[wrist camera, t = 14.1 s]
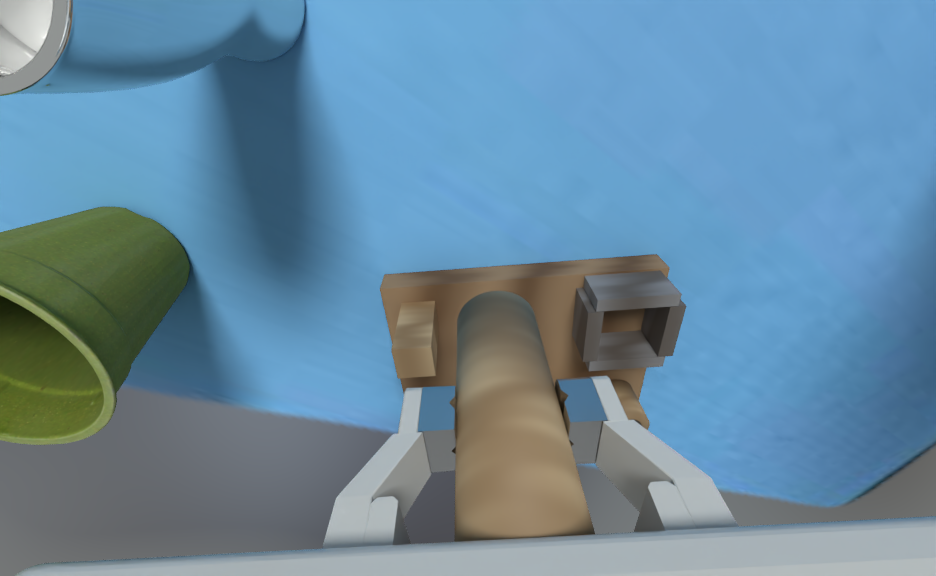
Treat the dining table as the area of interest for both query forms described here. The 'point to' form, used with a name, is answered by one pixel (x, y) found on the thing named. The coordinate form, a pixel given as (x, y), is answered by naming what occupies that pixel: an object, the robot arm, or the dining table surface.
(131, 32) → the beer glass
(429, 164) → the dining table surface
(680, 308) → the wooden assembly base board
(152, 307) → the plant pot
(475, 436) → the oak leg peg
